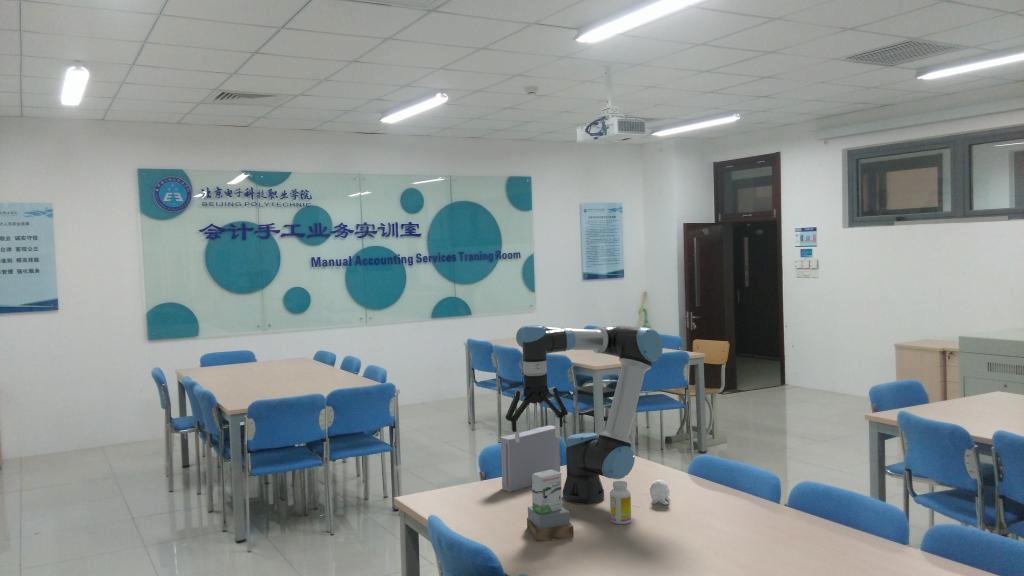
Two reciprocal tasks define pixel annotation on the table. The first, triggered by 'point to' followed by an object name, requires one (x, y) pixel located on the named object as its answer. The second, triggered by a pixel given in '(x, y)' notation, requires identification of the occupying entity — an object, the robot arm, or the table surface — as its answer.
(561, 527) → the walnut base block
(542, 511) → the ink box
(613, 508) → the supplement bottle
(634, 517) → the table surface
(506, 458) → the game console
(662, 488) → the white octopus figurine
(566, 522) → the slate-grey top block
